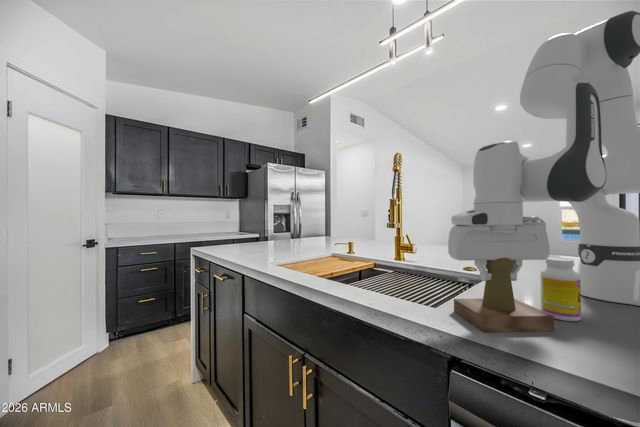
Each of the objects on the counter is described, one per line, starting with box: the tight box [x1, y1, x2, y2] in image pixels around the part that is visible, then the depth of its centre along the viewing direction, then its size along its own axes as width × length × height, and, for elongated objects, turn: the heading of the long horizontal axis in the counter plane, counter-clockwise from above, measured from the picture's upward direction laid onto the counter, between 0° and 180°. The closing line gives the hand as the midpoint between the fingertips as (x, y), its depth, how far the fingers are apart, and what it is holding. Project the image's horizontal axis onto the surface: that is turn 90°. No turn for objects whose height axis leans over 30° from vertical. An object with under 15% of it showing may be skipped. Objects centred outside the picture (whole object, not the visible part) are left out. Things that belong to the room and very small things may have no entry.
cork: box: [482, 258, 516, 311], centre depth 57 cm, size 6×6×11 cm
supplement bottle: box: [540, 257, 582, 322], centre depth 59 cm, size 7×7×13 cm
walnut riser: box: [453, 298, 555, 333], centre depth 57 cm, size 14×11×3 cm
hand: (498, 280), depth 57 cm, fingers closed on cork, 4 cm apart
